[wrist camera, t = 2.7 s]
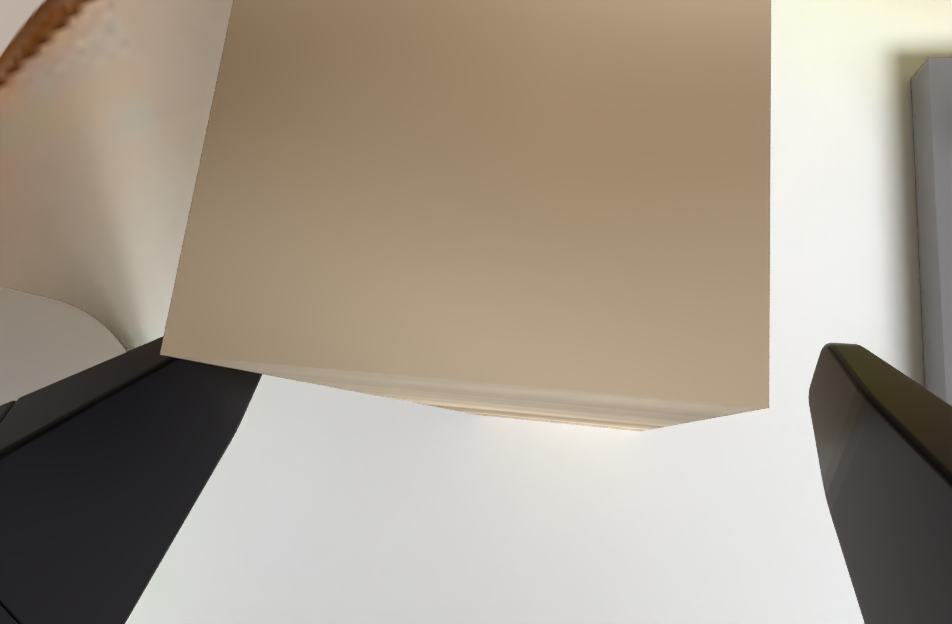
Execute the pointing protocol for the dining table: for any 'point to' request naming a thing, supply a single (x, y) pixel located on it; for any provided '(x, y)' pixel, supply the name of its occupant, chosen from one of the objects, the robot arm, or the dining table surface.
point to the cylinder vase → (46, 342)
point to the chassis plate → (935, 216)
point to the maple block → (490, 206)
